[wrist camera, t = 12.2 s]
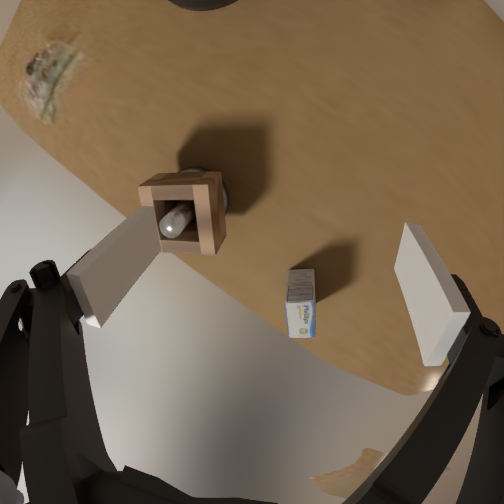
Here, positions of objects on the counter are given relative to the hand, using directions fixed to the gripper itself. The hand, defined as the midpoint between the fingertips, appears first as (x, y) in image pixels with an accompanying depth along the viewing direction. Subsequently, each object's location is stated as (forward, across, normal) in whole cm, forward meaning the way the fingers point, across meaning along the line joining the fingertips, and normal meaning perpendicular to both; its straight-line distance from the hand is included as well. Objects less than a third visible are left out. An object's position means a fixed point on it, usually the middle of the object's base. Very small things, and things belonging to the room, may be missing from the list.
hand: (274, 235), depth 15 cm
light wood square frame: (+26, -15, -9) cm, 31 cm away
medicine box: (+29, +2, -25) cm, 38 cm away
